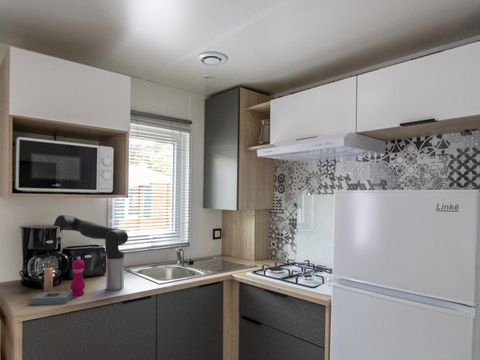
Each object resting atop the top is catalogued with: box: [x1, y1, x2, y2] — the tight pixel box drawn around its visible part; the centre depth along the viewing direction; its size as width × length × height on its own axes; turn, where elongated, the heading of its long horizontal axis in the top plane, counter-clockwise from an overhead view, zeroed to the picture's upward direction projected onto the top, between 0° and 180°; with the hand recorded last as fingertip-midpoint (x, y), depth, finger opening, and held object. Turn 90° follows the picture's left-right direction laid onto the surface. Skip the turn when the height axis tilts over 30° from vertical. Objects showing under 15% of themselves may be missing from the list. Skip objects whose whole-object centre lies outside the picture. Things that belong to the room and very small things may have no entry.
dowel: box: [43, 266, 54, 292], centre depth 180 cm, size 4×4×14 cm
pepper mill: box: [69, 256, 86, 297], centre depth 182 cm, size 7×7×20 cm
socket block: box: [30, 291, 74, 306], centre depth 170 cm, size 16×10×3 cm, turn 100°
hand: (47, 276), depth 186 cm, fingers open, 8 cm apart
